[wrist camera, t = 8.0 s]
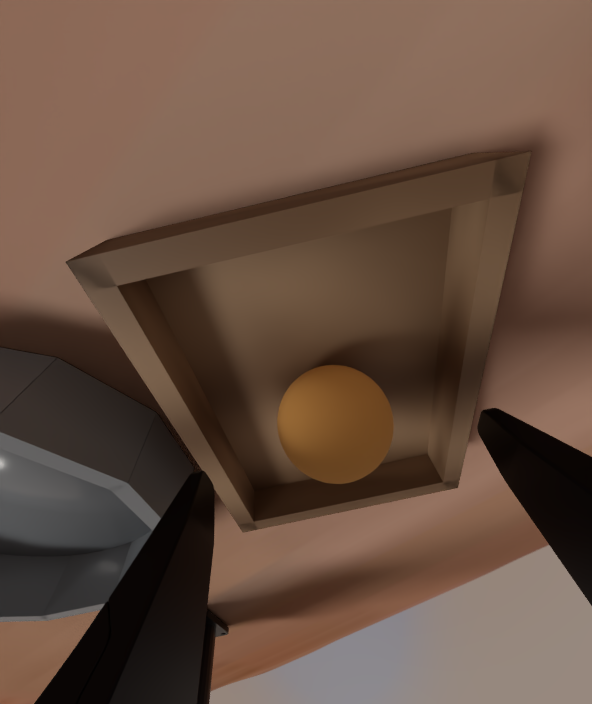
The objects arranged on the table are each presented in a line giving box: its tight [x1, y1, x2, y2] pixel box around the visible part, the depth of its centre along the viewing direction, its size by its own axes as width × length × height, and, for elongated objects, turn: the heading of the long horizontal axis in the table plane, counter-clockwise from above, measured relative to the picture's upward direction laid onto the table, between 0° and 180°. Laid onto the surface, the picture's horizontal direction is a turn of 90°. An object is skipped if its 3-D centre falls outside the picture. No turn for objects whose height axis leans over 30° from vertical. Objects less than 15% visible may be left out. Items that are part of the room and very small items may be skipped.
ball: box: [277, 365, 394, 484], centre depth 10 cm, size 4×4×4 cm
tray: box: [66, 151, 532, 532], centre depth 11 cm, size 14×11×2 cm
